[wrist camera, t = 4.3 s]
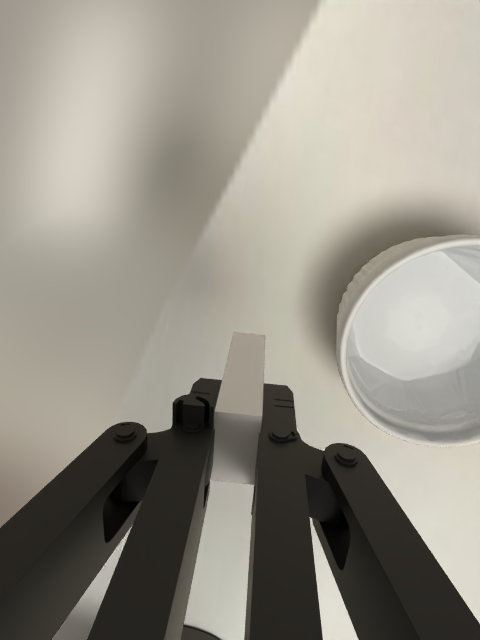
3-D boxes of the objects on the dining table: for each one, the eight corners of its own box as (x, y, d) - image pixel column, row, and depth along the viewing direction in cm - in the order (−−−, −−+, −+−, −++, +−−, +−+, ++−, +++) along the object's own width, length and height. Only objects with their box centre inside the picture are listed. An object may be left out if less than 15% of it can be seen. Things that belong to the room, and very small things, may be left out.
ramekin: (286, 318, 29) (292, 357, 23) (424, 180, 25) (479, 180, 19) (403, 421, 32) (439, 483, 25) (546, 309, 28) (633, 348, 21)
